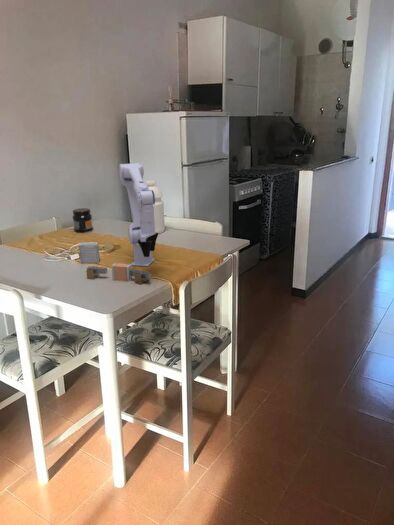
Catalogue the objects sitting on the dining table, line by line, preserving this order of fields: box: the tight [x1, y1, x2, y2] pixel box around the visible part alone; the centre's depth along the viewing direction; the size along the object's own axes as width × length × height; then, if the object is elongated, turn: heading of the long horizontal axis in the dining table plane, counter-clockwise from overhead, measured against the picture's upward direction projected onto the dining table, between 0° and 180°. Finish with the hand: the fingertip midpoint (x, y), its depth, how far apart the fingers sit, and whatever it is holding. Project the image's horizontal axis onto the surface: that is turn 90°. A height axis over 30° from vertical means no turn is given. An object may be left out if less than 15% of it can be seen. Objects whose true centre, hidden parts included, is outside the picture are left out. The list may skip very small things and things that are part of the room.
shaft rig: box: [86, 265, 152, 285], centre depth 171 cm, size 7×28×4 cm, turn 77°
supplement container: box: [72, 207, 94, 234], centre depth 241 cm, size 10×10×12 cm
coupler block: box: [111, 262, 133, 282], centre depth 171 cm, size 4×7×6 cm, turn 77°
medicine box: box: [78, 241, 101, 264], centre depth 191 cm, size 8×4×9 cm, turn 92°
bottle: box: [145, 179, 166, 235], centre depth 233 cm, size 14×14×28 cm
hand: (149, 253), depth 173 cm, fingers open, 7 cm apart
